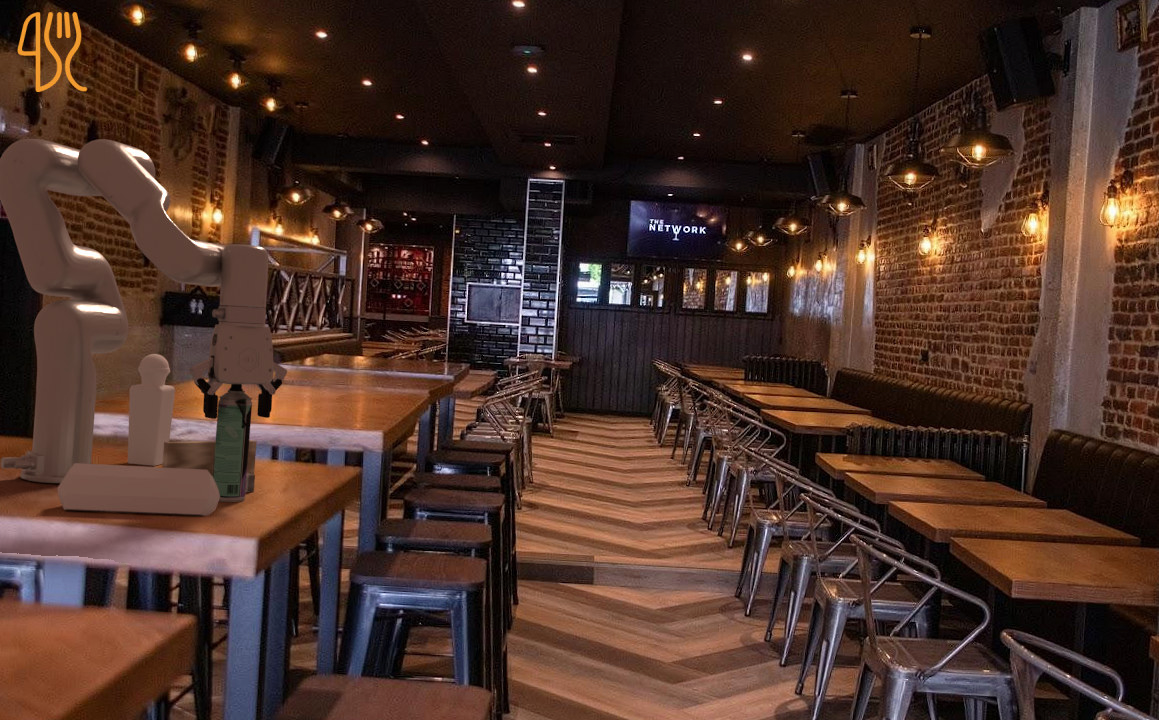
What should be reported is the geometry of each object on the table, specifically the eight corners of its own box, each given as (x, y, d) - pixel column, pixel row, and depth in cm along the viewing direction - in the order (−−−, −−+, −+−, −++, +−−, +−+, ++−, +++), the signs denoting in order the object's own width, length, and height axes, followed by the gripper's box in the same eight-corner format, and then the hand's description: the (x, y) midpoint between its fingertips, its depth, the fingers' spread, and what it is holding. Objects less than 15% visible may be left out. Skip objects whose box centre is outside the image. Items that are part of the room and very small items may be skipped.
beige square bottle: (139, 459, 212) (147, 352, 212) (170, 462, 212) (178, 355, 211) (123, 463, 206) (131, 352, 205) (155, 466, 205) (163, 355, 205)
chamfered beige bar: (47, 489, 156) (215, 496, 161) (60, 459, 162) (222, 467, 167) (51, 526, 159) (216, 532, 165) (64, 496, 165) (222, 503, 171)
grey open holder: (184, 495, 178) (187, 449, 178) (160, 486, 185) (164, 442, 185) (274, 490, 190) (277, 447, 190) (249, 482, 197) (252, 440, 197)
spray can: (251, 499, 180) (260, 384, 179) (228, 503, 175) (237, 385, 174) (227, 495, 182) (236, 381, 182) (204, 498, 177) (212, 381, 177)
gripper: (204, 315, 169) (199, 420, 169) (299, 320, 181) (294, 418, 182) (183, 314, 174) (178, 416, 175) (277, 319, 187) (272, 414, 187)
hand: (237, 417), depth 178 cm, fingers open, 9 cm apart
